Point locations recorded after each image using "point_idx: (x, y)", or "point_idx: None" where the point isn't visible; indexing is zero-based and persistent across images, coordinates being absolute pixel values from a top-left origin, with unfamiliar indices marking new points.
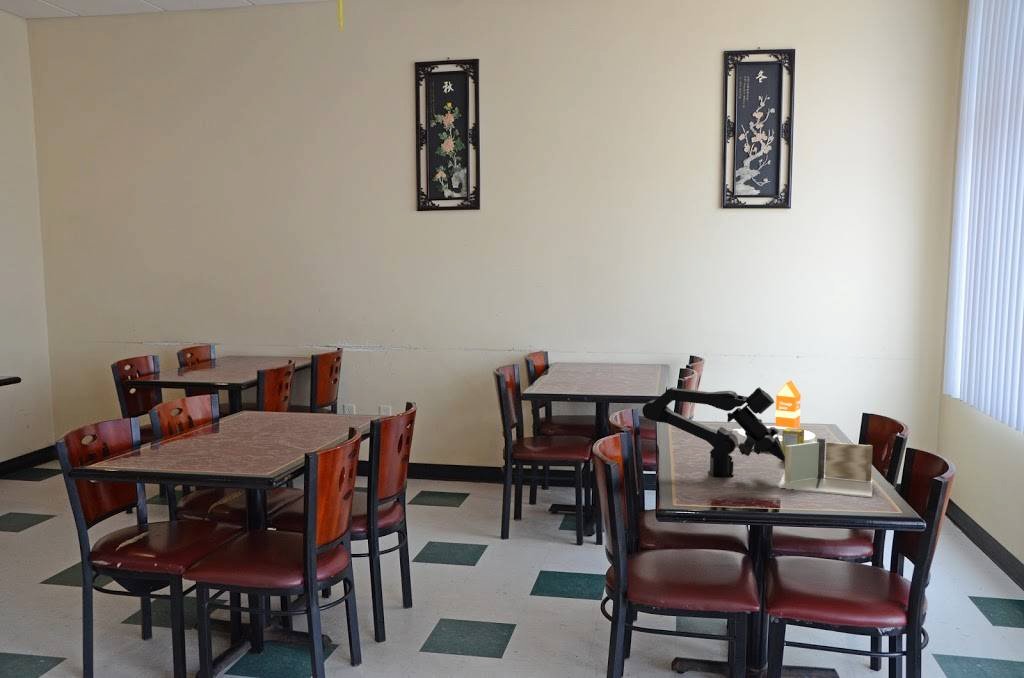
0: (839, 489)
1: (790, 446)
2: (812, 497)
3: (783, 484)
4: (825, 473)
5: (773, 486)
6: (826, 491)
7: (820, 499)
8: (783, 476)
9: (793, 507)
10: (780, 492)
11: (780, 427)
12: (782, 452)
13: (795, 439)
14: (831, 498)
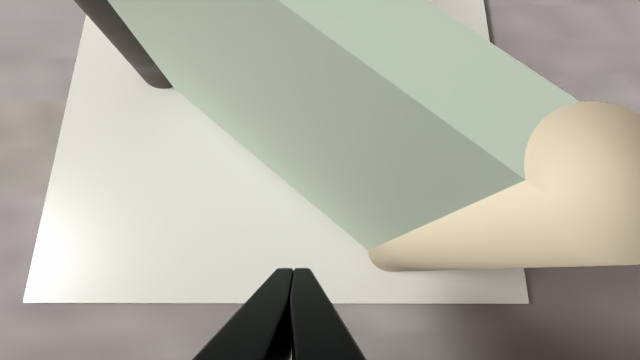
0: None
1: (623, 124)
2: (613, 89)
3: (451, 271)
4: None
5: (488, 340)
6: (486, 22)
7: (627, 50)
8: (211, 295)
9: None
10: (618, 274)
11: None
12: (347, 333)
13: None
14: (573, 5)
